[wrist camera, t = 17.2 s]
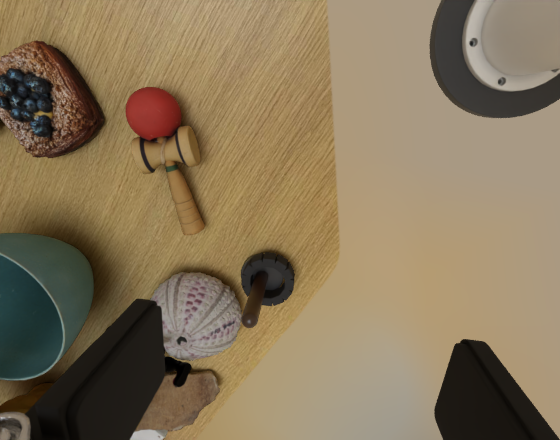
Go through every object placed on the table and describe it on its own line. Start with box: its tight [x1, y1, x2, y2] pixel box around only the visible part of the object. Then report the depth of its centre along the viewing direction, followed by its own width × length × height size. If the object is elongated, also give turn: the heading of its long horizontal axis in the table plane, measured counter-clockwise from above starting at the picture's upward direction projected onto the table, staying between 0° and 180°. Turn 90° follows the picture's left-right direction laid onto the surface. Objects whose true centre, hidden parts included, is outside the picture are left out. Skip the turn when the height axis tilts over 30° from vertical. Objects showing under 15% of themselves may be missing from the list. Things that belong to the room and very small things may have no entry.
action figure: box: [106, 326, 192, 387], centre depth 44 cm, size 15×6×20 cm
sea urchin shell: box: [150, 272, 242, 361], centre depth 43 cm, size 13×14×8 cm
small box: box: [130, 429, 168, 440], centre depth 52 cm, size 6×6×5 cm
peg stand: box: [241, 254, 283, 328], centre depth 39 cm, size 6×6×12 cm
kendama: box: [126, 87, 205, 235], centre depth 38 cm, size 8×6×18 cm
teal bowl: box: [0, 233, 94, 381], centre depth 41 cm, size 18×18×12 cm
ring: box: [241, 252, 295, 306], centre depth 43 cm, size 7×7×2 cm
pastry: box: [0, 41, 104, 158], centre depth 37 cm, size 11×12×6 cm
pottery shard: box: [134, 371, 220, 432], centre depth 49 cm, size 8×3×15 cm
